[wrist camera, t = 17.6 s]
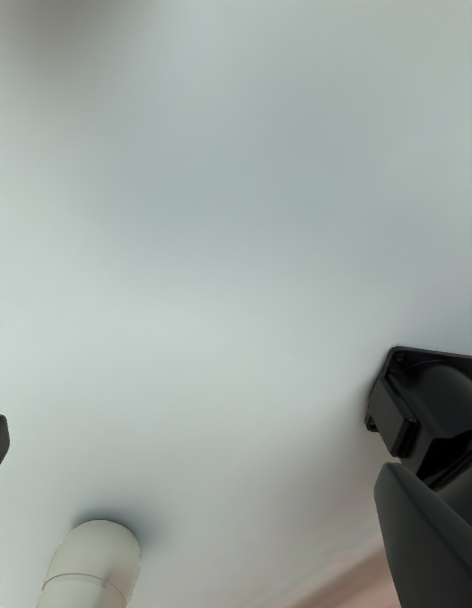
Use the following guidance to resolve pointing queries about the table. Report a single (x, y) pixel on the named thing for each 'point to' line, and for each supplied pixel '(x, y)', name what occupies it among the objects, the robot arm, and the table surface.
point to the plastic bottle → (92, 568)
